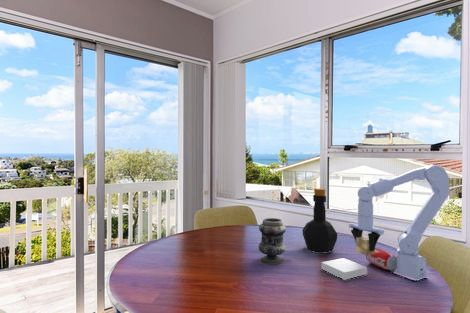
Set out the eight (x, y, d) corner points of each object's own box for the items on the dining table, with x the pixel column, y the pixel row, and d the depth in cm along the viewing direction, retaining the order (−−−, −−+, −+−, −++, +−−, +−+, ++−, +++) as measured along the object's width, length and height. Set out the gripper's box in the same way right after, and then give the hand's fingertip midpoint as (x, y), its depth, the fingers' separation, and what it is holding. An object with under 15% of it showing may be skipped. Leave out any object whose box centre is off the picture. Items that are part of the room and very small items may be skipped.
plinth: (367, 275, 116) (367, 267, 116) (344, 280, 111) (344, 272, 111) (343, 265, 127) (343, 257, 127) (321, 269, 121) (321, 262, 121)
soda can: (363, 247, 129) (385, 256, 118) (376, 244, 131) (399, 252, 120) (365, 264, 129) (386, 274, 118) (378, 260, 131) (400, 270, 120)
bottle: (313, 256, 138) (313, 191, 138) (296, 246, 154) (297, 187, 154) (343, 253, 142) (343, 190, 142) (324, 243, 158) (324, 187, 158)
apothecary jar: (285, 266, 125) (285, 223, 125) (256, 264, 127) (256, 221, 127) (286, 256, 137) (286, 217, 137) (259, 255, 139) (260, 216, 139)
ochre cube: (375, 253, 122) (375, 238, 122) (366, 255, 119) (366, 240, 119) (364, 250, 126) (364, 236, 126) (356, 251, 124) (356, 237, 124)
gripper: (388, 217, 119) (388, 251, 119) (355, 211, 131) (355, 242, 131) (378, 219, 115) (378, 254, 115) (345, 213, 127) (345, 245, 127)
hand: (365, 248), depth 123 cm, fingers closed on ochre cube, 5 cm apart
